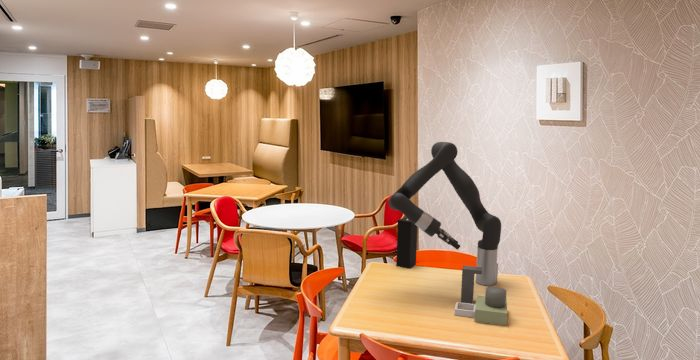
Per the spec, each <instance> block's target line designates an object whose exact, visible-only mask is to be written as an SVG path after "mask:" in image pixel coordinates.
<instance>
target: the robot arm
mask: <svg viewBox="0 0 700 360" xmlns="http://www.w3.org/2000/svg"><path fill="white" fill-rule="evenodd" d="M430 151H431V152H430V153H431V156H432V159H431V160H430V161H429V162H427V164H425V165H423V166H422V167H420V168H419V169H418V170H416V171H415V172H414V173H412V174H411V175H410V176H409V177H408V179H407V180H406V181H405V182H404V183H402V185H401V187H400V188H399V189H397V190H396V191H395V192H394V193H393V194H392V195H391V196H390V197H389V198H388V206H389V208H390V209H391V210H393V211H398V212H400V213H402V214H403V215H404V216H405V218H407V219H408V220H410V221H411V222H412V223H414V224H415V225H416V226H417V229H420V230H421V231H422V232H423V233H425V234H426V235H428V236H429V237H431V238H432V237H434V236H435V235H437V238H438V239H440V240H441V241H443V242H444V243H446V244H447V245H450V246H451V247H453V248H454V249H456V250H459V249H460V248H461V244H459V241H458V240H457V239H455V238H453V237H452V235H451V234H450V233H449V232H447V231H446V230H445V229H444V228H441V225H442V223H441V221H439V220H438V219H437V218H435V217H434V216H432V215H431V214H430V213H428V212H426V211H424V210H423V209H421V208H420V207H419V206H417V205H416V204H415V203H413V201H412V200H411V198H412V197H414V196H415V195H416V194H417V193H418V192H419V191H420V190H421V189H422V188H423V187H424V186H425V185H426V184H427V183H428V182H429V181H430V180H431V179H432V178H433V177H434V176H436V174H438V173H439V172H441V170H442V171H443V173H444V174H445V176H446V177H447V180H448V182H450V184H451V186H452V187H453V189H454V191H455V192H456V194H457V196H458V197H459V199H460V200H461V202H462V203H463V205H464V206H465V207H466V209H467V210H468V212H469V214H470V216H471V219H472V220H473V222H474V224H475V226H476V228H477V229H478V231H480V232H482V237H481V239H479V240H478V241H477V248H476V249H477V250H476V251H477V252H476V266H475V267H482V275H481V274H475V283H476V284H478V285H481V286H493V285H496V284H497V283H498V274H499V273H498V272H499V271H498V270H499V263H498V250H499V248H498V247H499V244H500V242H501V234H502V222H501V220H500V218H499V217H498V216H495V215H494V214H491V213H489V211H488V210H487V209H486V207H485V206H484V204H483V202H482V201H481V200H482V199H481V195H480V191H479V188H478V187H477V185H476V183H475V182H474V180H473V179H472V177H471V176H470V175H469V174H467V172H466V170H463V168H462V167H460V166H459V165H458V163H457V162H456V160H455V159H456V158H457V156H458V147H457V146H456V144H455V143H452V142H450V141H438V142H435V143H433V145H432V146H431V149H430Z"/></svg>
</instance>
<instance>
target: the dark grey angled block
mask: <svg viewBox="0 0 700 360" xmlns="http://www.w3.org/2000/svg"><path fill="white" fill-rule="evenodd" d="M461 271H462V273H461V287H460V289H461V291H460V302H461V303H469V304H474V291H475V277H476V274H481V275H482V267H476V266H472V265H465V264H464V265H463V264H462V269H461Z"/></svg>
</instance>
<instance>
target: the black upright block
mask: <svg viewBox="0 0 700 360" xmlns="http://www.w3.org/2000/svg"><path fill="white" fill-rule="evenodd" d="M396 234H397V235H396V237H397V238H396V239H397V241H396V267H399V266H400V267H401V268H405V269H412V267H415V266H416V265H417V248H418V247H417V245H418V243H417V242H418V227H417V226H416V225H415V224H414V223H412V222H411V221H410V220H408V219H407V218H406V217H404V216H403V217H402V218H398V219H397V233H396Z"/></svg>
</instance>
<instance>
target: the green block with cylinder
mask: <svg viewBox="0 0 700 360" xmlns="http://www.w3.org/2000/svg"><path fill="white" fill-rule="evenodd" d="M453 315H454V316H458V317H467V318H474V322H475V323H482V324H483V323H484V324H491V325H498V326H507V324H508V321H507V320H508V299H507V290H506V289H505V288H503V287H500V286H487V287H486V288H485V295H478V294H477V295H476V299H475V303H473V304H469V303H461V301H460V302H459V301H456V302H455V304H454V314H453Z"/></svg>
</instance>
